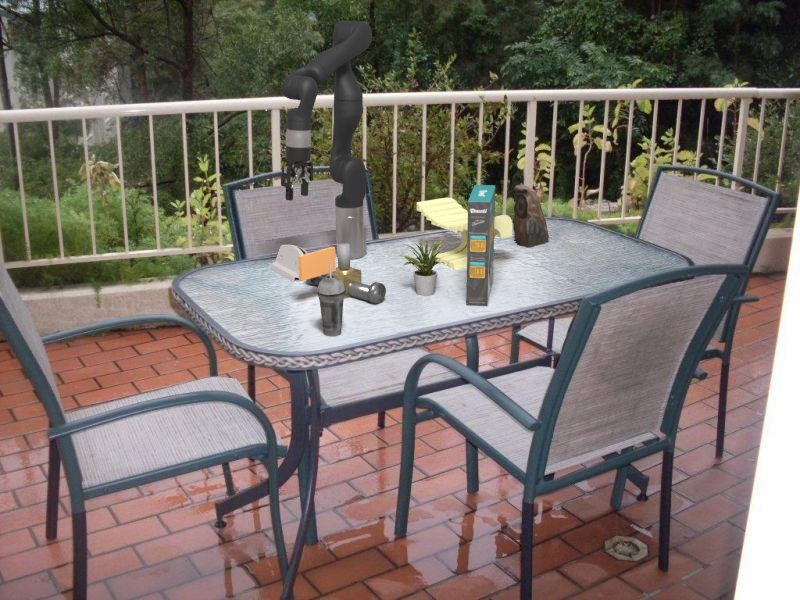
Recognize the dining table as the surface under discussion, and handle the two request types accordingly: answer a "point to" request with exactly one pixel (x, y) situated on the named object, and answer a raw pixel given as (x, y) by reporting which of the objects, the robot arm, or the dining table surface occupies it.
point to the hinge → (288, 261)
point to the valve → (355, 285)
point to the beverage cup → (331, 303)
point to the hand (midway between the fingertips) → (297, 197)
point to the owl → (528, 218)
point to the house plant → (424, 268)
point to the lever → (323, 261)
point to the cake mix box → (480, 245)
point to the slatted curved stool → (457, 227)
